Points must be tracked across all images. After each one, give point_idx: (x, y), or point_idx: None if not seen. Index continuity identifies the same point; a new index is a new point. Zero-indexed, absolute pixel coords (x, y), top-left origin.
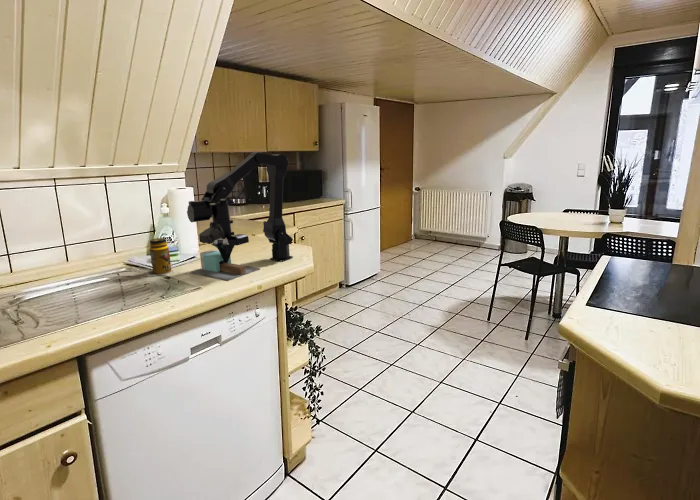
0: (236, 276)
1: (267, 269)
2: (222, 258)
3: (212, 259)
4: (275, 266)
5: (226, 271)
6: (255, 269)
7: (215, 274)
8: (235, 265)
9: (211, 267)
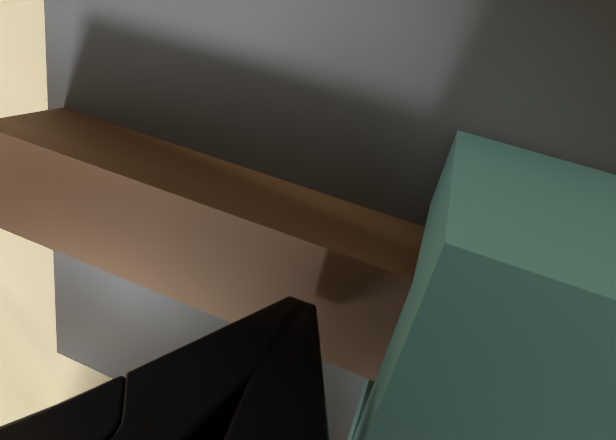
0: (55, 16)
1: (8, 341)
2: (373, 398)
3: (585, 246)
4: (16, 419)
5: (312, 192)
6: (65, 314)
7: (415, 19)
8: (123, 238)
9: (606, 186)
